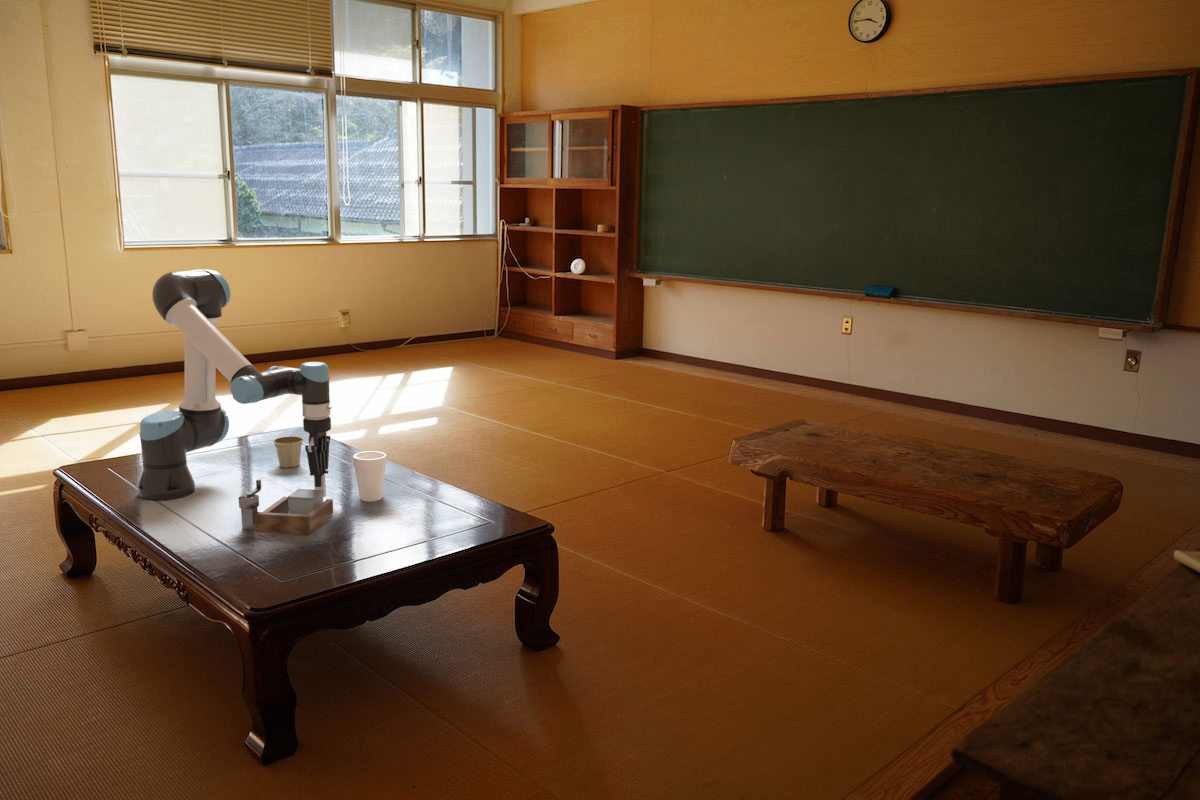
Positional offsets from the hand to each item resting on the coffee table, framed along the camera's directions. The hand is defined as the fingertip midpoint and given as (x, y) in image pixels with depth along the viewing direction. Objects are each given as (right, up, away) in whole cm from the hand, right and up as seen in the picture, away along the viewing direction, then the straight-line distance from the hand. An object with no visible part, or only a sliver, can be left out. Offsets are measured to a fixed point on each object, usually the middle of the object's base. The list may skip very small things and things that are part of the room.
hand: (320, 496), depth 266 cm
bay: (-2, -5, -16) cm, 17 cm away
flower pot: (-21, +6, +36) cm, 42 cm away
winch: (-12, -6, -19) cm, 23 cm away
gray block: (-1, -4, -9) cm, 10 cm away
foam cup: (+13, -1, +5) cm, 14 cm away
